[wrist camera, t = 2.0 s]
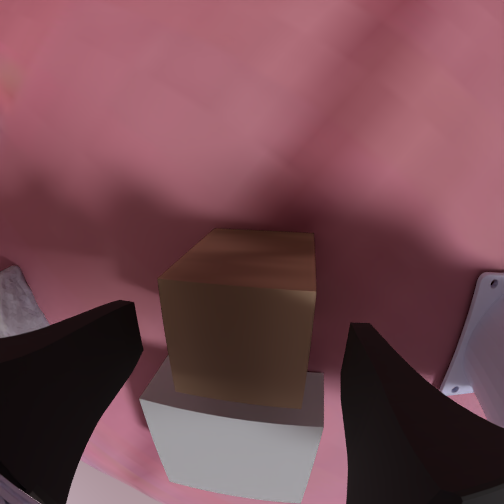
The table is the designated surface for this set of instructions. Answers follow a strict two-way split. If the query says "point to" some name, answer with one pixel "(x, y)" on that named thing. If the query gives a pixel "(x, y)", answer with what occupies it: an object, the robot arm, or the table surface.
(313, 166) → the table surface
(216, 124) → the table surface
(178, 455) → the plinth
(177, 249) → the table surface
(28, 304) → the stone block
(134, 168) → the table surface
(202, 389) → the walnut block
